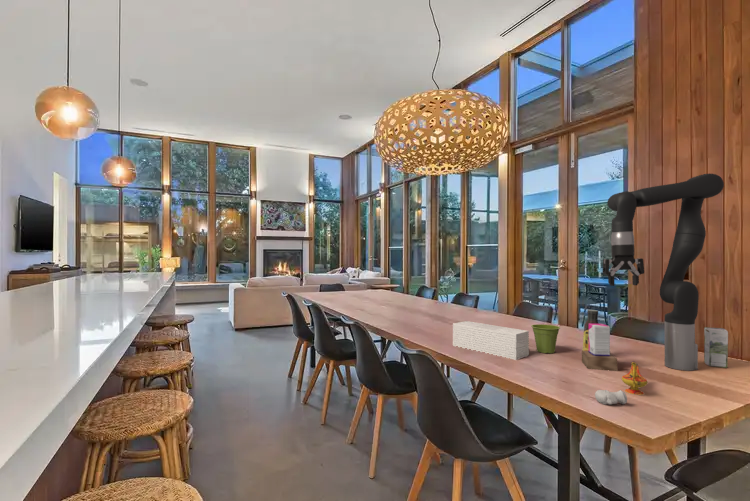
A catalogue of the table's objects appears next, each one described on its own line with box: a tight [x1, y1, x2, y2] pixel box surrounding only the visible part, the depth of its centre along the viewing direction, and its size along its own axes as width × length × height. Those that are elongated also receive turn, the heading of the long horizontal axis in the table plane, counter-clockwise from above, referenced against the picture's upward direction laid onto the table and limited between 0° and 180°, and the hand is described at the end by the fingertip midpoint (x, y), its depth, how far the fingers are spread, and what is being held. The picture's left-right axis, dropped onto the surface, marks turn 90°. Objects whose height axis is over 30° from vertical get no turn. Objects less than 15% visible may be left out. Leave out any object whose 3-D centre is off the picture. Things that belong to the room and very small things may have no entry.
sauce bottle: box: [582, 309, 600, 351], centre depth 164 cm, size 7×6×20 cm
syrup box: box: [703, 326, 729, 369], centre depth 152 cm, size 6×6×14 cm
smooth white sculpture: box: [594, 389, 628, 406], centre depth 114 cm, size 4×8×5 cm
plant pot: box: [530, 323, 561, 354], centre depth 173 cm, size 12×12×11 cm
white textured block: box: [452, 320, 530, 361], centre depth 175 cm, size 32×11×11 cm, turn 42°
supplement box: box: [588, 323, 611, 356], centre depth 151 cm, size 6×6×12 cm
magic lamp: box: [621, 361, 648, 396], centre depth 125 cm, size 7×18×11 cm, turn 145°
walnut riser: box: [581, 349, 618, 372], centre depth 151 cm, size 10×10×5 cm
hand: (623, 285), depth 151 cm, fingers open, 8 cm apart
